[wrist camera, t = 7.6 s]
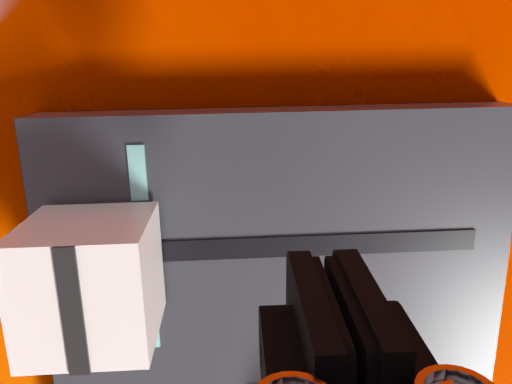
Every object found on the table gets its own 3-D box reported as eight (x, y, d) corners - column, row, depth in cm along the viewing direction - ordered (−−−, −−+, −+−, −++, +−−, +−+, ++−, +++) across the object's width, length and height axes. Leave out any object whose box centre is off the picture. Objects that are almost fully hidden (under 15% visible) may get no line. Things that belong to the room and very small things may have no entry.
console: (35, 112, 18) (12, 118, 16) (498, 101, 19) (530, 106, 17) (93, 523, 24) (80, 566, 22) (452, 499, 24) (472, 538, 22)
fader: (42, 205, 17) (-14, 250, 13) (158, 201, 17) (137, 244, 13) (57, 307, 18) (9, 378, 14) (165, 303, 18) (148, 371, 14)
